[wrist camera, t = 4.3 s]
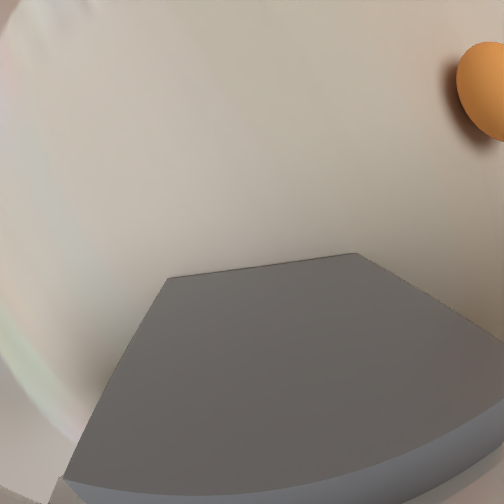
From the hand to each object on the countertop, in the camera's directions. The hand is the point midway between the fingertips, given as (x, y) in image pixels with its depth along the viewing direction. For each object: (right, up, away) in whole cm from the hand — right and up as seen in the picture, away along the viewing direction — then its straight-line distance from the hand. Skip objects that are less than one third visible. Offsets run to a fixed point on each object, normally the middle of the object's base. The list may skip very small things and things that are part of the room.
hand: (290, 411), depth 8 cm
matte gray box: (0, +1, +4) cm, 4 cm away
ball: (+10, +12, 0) cm, 16 cm away
